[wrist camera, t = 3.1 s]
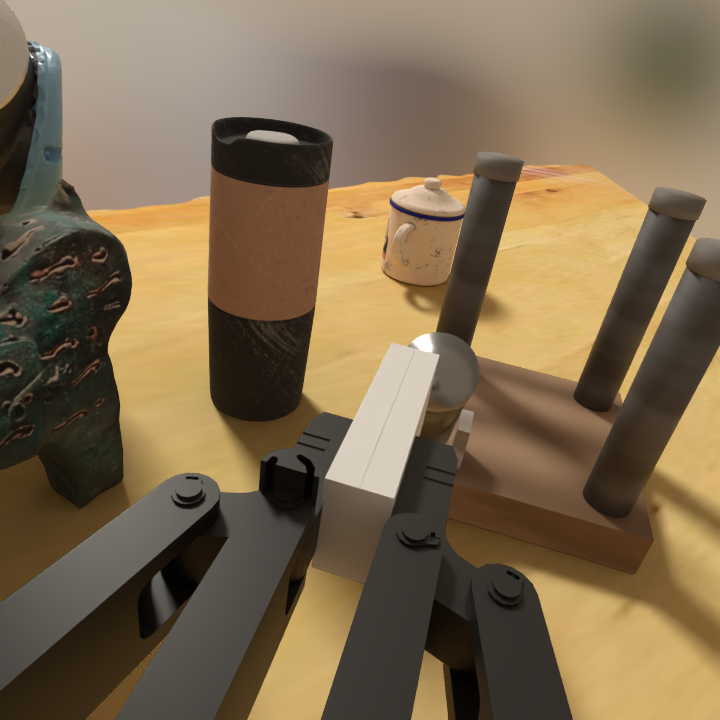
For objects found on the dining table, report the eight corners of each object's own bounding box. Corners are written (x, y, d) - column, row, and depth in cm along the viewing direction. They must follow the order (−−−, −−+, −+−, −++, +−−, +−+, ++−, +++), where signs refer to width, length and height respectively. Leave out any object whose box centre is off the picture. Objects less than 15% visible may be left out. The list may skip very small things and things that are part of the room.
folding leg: (409, 399, 38) (410, 324, 24) (457, 412, 38) (487, 343, 24) (396, 446, 38) (389, 397, 23) (445, 459, 37) (468, 419, 23)
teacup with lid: (397, 252, 79) (414, 164, 73) (460, 273, 75) (482, 183, 69) (353, 277, 69) (368, 178, 63) (422, 302, 66) (445, 201, 60)
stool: (415, 370, 53) (467, 144, 43) (607, 421, 50) (710, 194, 40) (369, 493, 39) (431, 197, 29) (634, 574, 36) (806, 280, 26)
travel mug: (308, 374, 50) (338, 129, 40) (298, 429, 43) (331, 152, 33) (219, 362, 49) (225, 111, 39) (195, 416, 43) (195, 131, 33)
